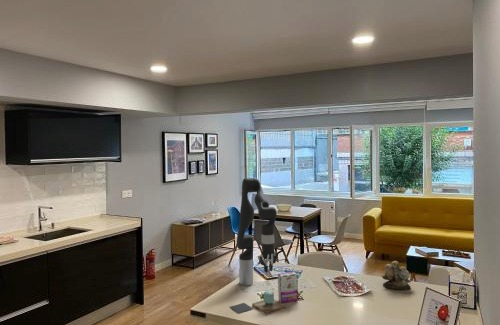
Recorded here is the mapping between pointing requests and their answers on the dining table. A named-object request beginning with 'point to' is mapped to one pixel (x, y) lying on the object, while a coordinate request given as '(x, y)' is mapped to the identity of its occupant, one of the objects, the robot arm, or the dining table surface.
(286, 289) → the candy bar box
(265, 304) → the post base
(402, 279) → the owl figurine
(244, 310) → the mat
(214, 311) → the dining table surface
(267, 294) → the cap
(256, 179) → the robot arm
